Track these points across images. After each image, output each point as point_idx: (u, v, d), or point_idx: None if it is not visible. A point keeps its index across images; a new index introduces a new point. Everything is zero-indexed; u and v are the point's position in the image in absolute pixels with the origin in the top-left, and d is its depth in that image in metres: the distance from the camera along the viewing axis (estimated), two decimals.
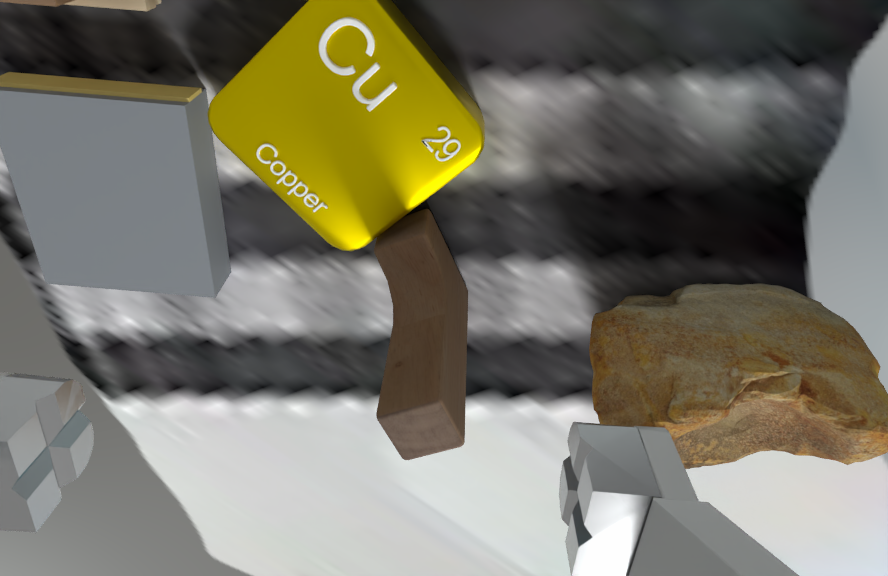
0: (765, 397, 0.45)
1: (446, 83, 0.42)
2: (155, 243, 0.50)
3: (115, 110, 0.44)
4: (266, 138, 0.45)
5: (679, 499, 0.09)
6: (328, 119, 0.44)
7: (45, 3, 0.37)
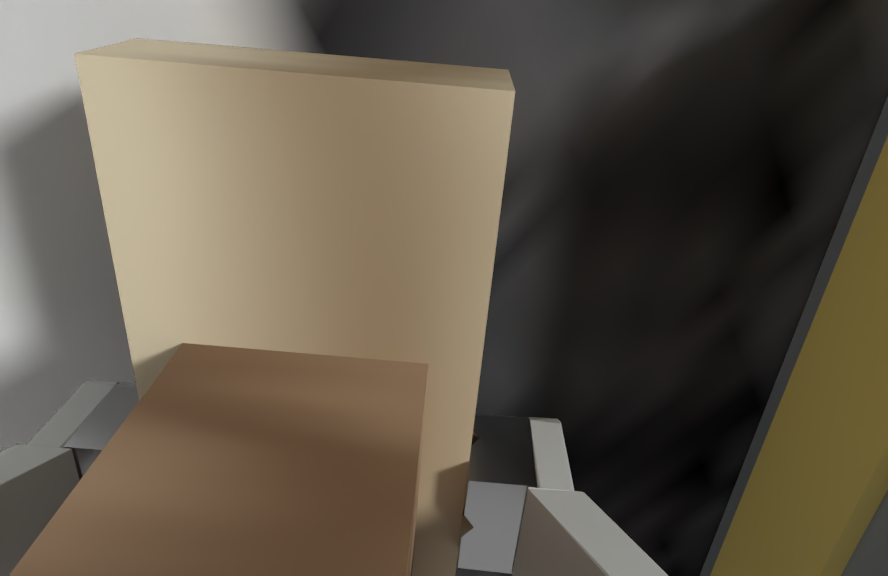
0: None
1: None
2: None
3: None
4: None
5: (554, 488, 0.09)
6: None
7: None
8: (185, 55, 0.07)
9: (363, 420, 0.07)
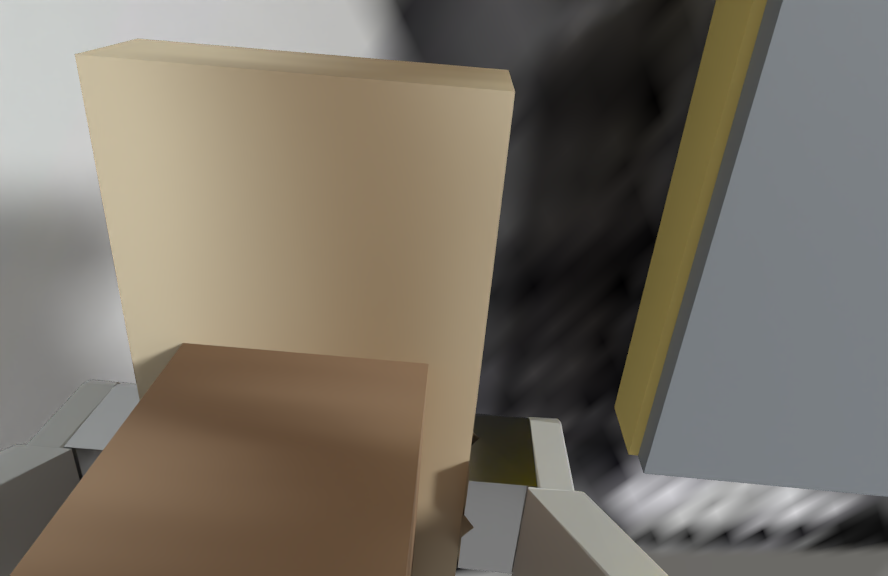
0: None
1: None
2: None
3: (758, 192, 0.15)
4: None
5: (554, 488, 0.09)
6: None
7: None
8: (185, 55, 0.07)
9: (363, 420, 0.07)
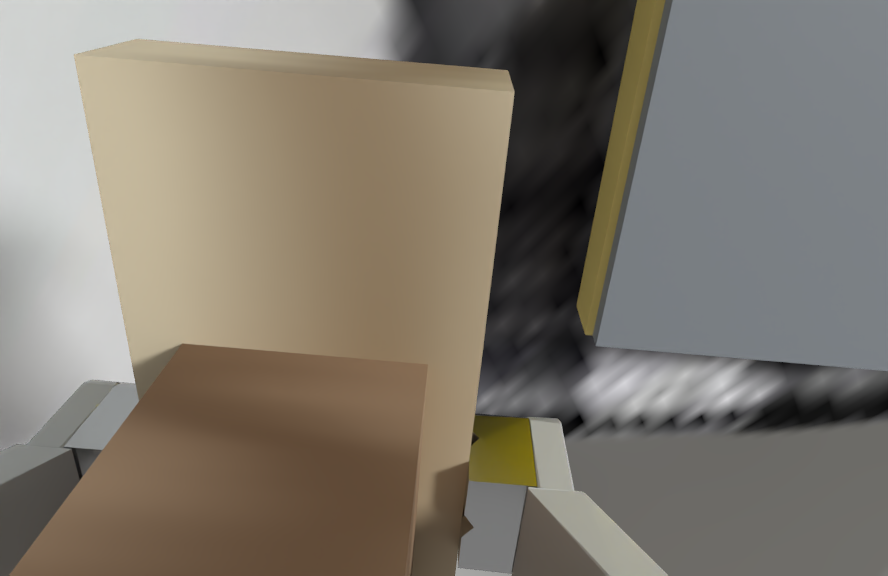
0: None
1: None
2: None
3: (670, 115, 0.21)
4: None
5: (554, 488, 0.09)
6: None
7: None
8: (185, 56, 0.07)
9: (362, 421, 0.07)
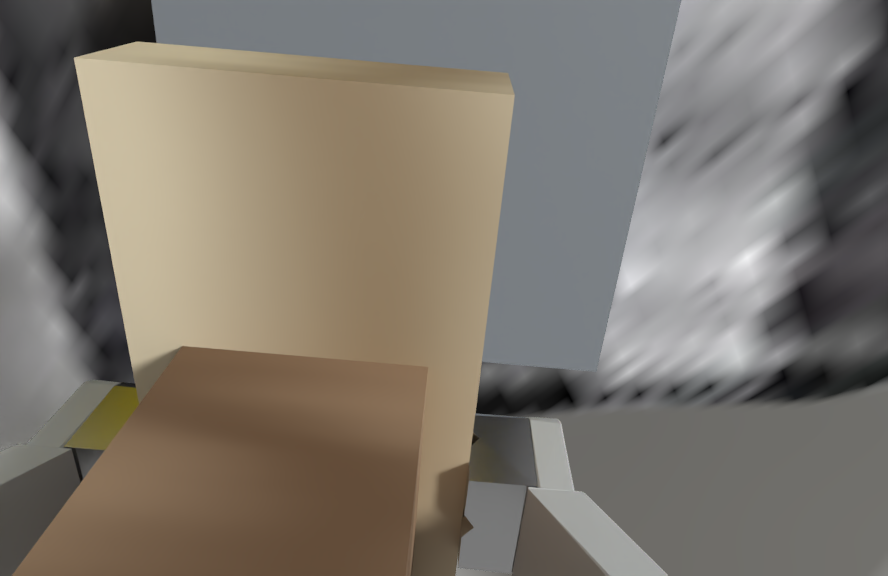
0: None
1: None
2: None
3: None
4: None
5: (554, 488, 0.09)
6: None
7: None
8: (185, 59, 0.07)
9: (363, 424, 0.07)
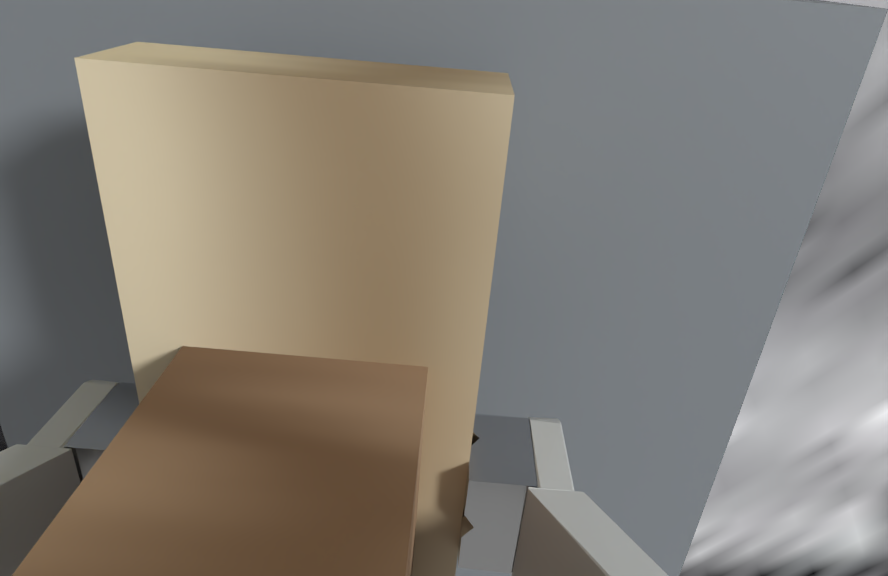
0: None
1: None
2: (534, 231, 0.12)
3: None
4: None
5: (554, 489, 0.09)
6: None
7: None
8: (185, 59, 0.07)
9: (363, 423, 0.07)
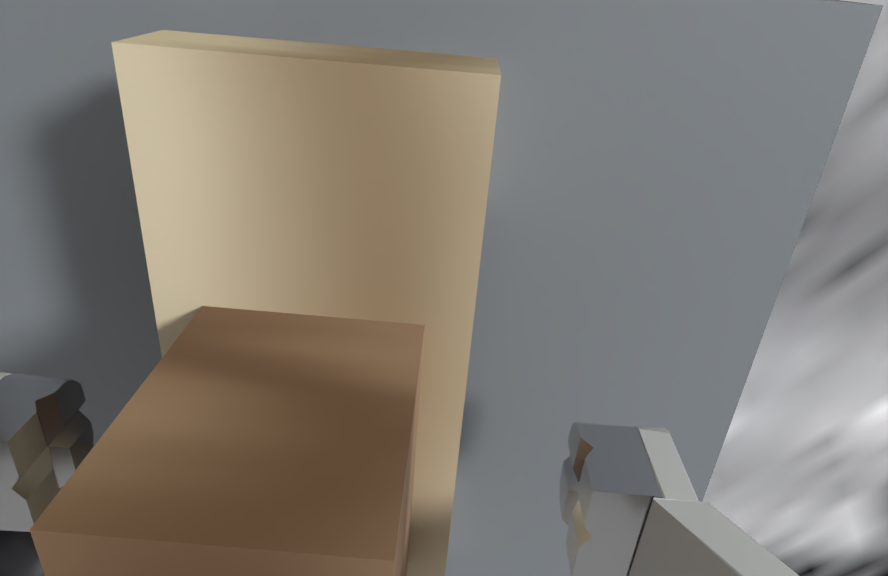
0: None
1: None
2: (531, 228, 0.12)
3: None
4: None
5: (679, 499, 0.09)
6: None
7: None
8: (208, 44, 0.08)
9: (366, 370, 0.08)
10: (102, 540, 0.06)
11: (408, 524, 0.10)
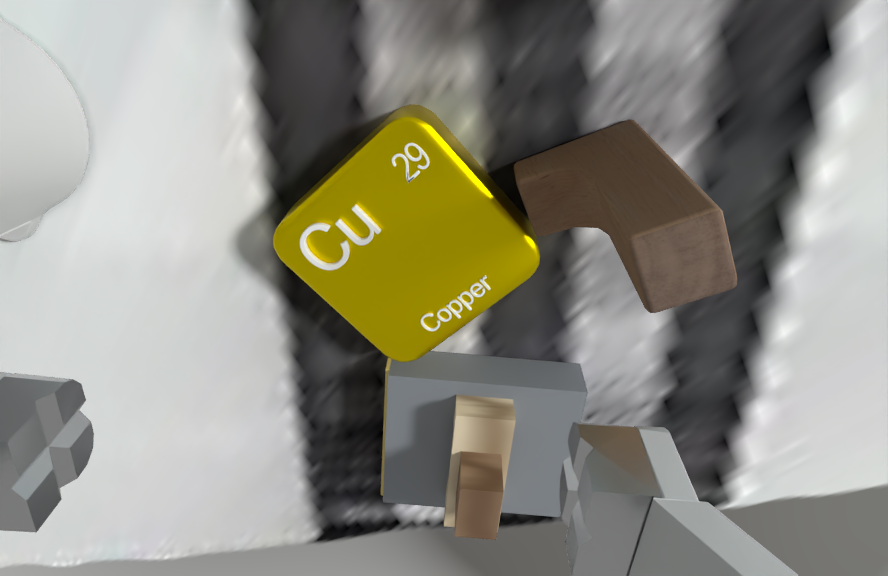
0: None
1: (352, 156, 0.43)
2: (521, 427, 0.53)
3: (394, 424, 0.53)
4: (416, 320, 0.48)
5: (679, 499, 0.09)
6: (394, 266, 0.46)
7: (501, 498, 0.47)
8: (468, 412, 0.49)
9: (493, 464, 0.49)
10: (468, 490, 0.47)
11: None
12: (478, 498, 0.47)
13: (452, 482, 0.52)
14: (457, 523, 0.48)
